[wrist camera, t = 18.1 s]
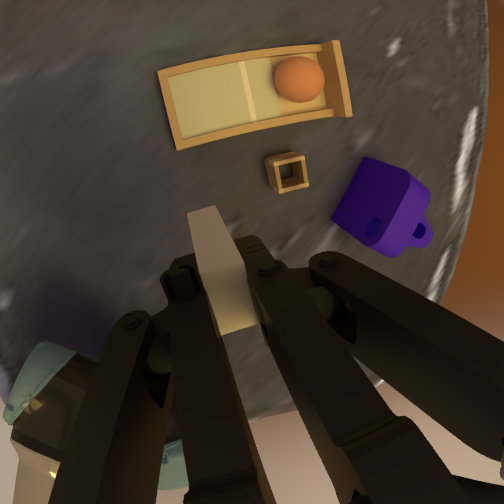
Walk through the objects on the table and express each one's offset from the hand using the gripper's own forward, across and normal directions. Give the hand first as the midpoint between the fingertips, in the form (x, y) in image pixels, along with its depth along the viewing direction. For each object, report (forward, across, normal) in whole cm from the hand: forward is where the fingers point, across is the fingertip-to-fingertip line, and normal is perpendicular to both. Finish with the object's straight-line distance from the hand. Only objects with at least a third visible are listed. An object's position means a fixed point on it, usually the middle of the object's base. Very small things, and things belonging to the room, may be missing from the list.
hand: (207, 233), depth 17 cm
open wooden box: (+24, +12, -4) cm, 27 cm away
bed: (+24, +10, +7) cm, 27 cm away
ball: (+21, +16, +7) cm, 27 cm away
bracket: (+25, +29, -15) cm, 41 cm away
